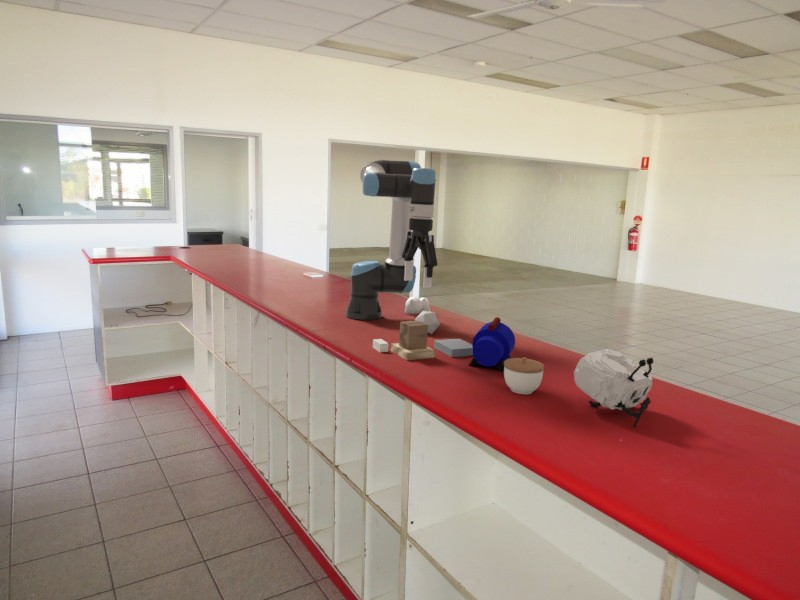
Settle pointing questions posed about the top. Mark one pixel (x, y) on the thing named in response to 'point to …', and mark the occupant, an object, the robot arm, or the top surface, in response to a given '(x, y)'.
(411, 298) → the white rounded figure
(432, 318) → the die
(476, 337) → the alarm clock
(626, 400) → the robot
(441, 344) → the grey slab
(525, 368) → the lidded jar
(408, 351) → the oak slab
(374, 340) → the white brick
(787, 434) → the top surface
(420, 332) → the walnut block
